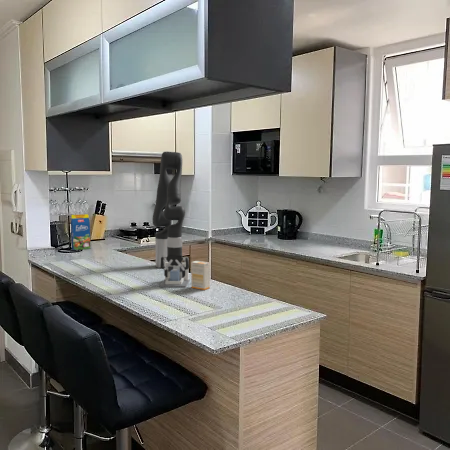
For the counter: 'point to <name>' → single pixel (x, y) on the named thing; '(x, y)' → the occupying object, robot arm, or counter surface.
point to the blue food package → (80, 232)
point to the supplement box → (200, 275)
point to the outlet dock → (180, 283)
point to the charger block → (174, 275)
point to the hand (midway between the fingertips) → (174, 277)
